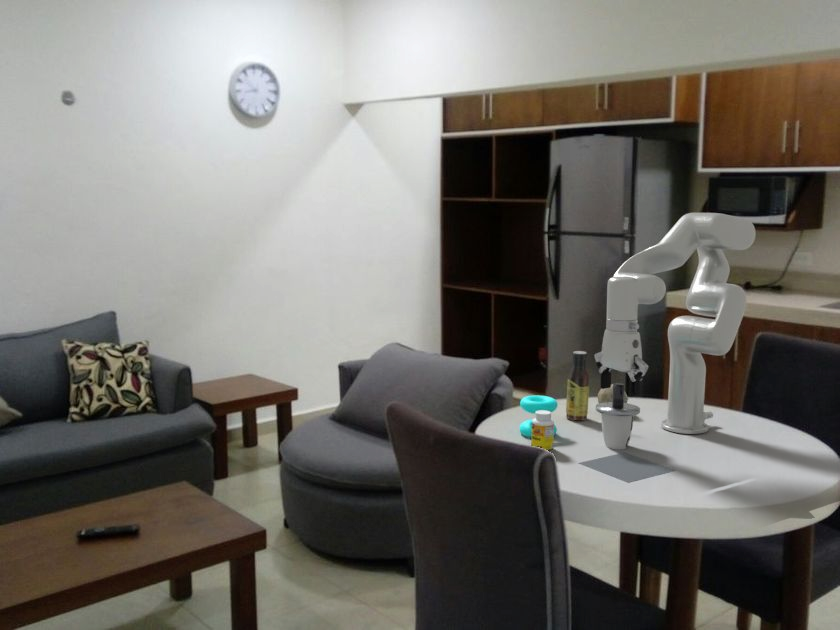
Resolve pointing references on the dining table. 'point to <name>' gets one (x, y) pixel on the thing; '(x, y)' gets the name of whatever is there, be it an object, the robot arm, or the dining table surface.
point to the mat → (627, 467)
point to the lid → (618, 404)
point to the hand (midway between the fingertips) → (619, 391)
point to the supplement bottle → (542, 430)
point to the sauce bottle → (578, 388)
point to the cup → (617, 430)
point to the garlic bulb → (608, 395)
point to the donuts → (533, 405)
